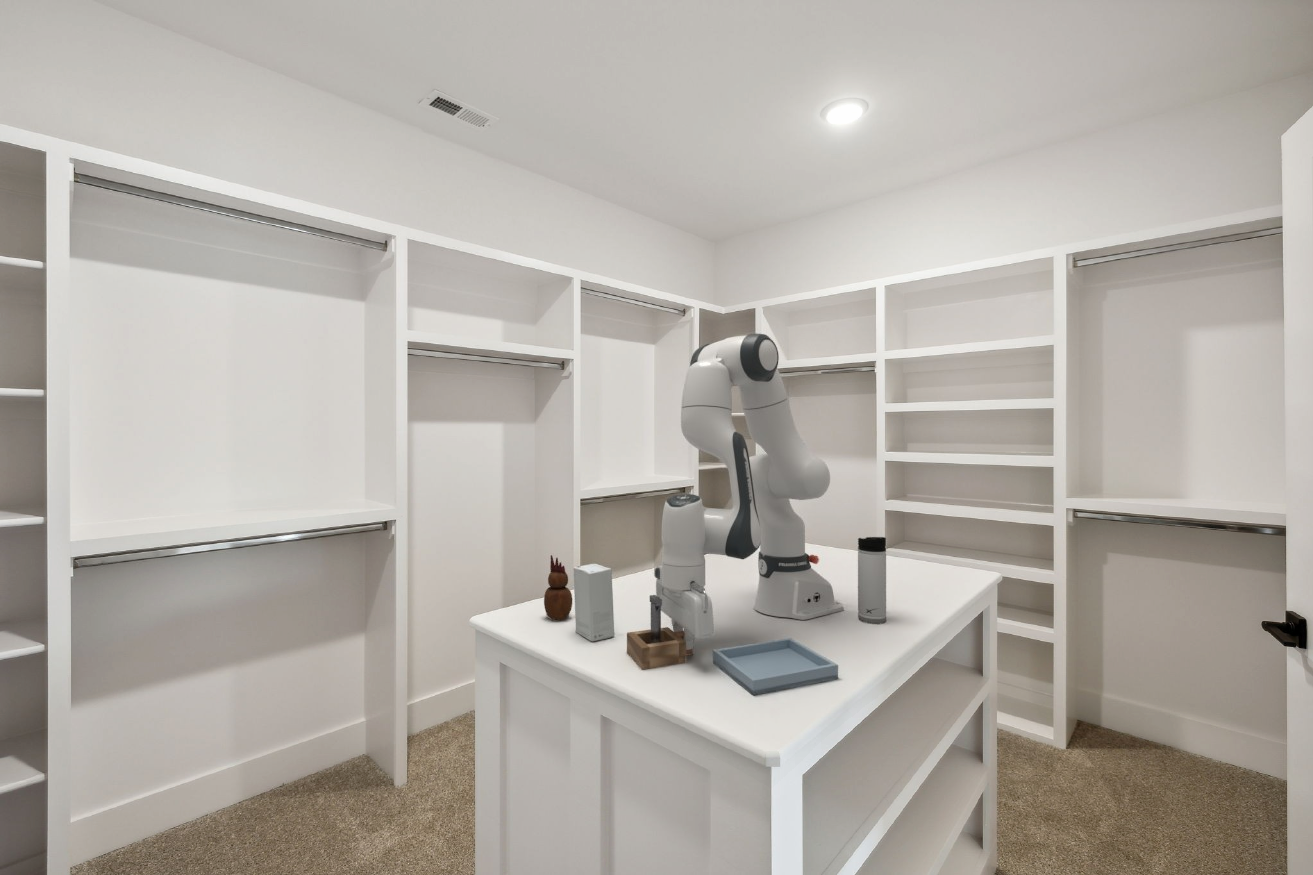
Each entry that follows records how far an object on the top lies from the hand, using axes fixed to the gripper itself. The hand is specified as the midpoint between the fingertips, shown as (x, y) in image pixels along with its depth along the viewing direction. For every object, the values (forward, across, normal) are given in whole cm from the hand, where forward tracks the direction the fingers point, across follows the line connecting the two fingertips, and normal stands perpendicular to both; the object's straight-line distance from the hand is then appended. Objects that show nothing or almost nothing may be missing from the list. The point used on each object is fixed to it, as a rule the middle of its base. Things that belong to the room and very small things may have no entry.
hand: (683, 644), depth 113 cm
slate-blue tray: (+2, -14, -12) cm, 19 cm away
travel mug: (+2, +2, -50) cm, 50 cm away
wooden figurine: (+2, +31, +19) cm, 36 cm away
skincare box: (+2, +17, +14) cm, 22 cm away
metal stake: (+2, 0, +6) cm, 6 cm away
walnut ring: (+2, 0, +4) cm, 5 cm away
